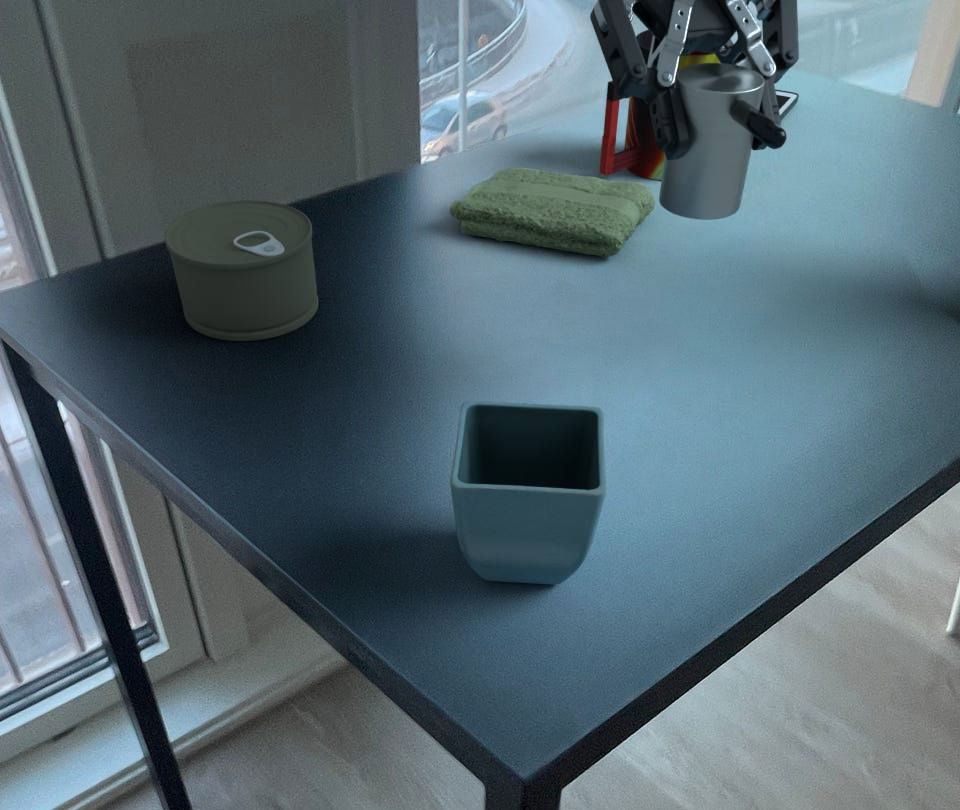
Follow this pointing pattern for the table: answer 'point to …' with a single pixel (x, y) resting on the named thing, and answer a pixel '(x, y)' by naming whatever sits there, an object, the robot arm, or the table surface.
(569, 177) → the washcloth
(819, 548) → the table surface
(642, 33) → the mug
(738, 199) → the metal cylinder with handle
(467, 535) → the flower pot
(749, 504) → the table surface
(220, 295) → the can
